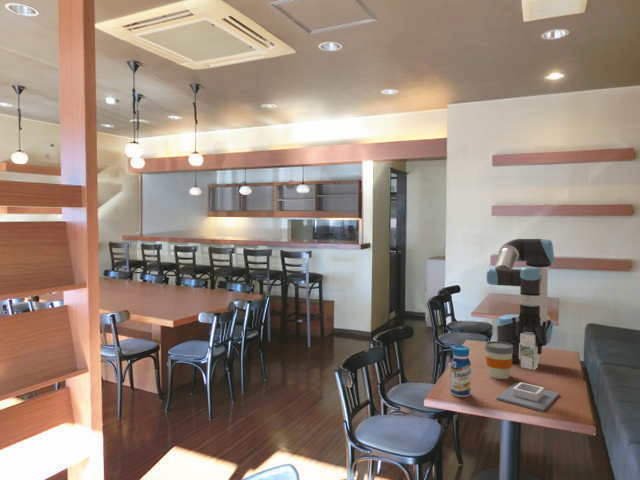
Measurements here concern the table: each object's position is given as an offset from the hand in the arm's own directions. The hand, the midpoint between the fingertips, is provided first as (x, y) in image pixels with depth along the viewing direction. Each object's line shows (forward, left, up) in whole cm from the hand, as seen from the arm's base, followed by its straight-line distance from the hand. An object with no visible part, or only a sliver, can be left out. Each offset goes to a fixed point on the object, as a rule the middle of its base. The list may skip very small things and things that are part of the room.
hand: (528, 359), depth 187 cm
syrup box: (0, 0, -4) cm, 4 cm away
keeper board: (0, 0, -16) cm, 16 cm away
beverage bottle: (+15, -23, -16) cm, 32 cm away
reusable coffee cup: (-18, -19, -16) cm, 31 cm away
